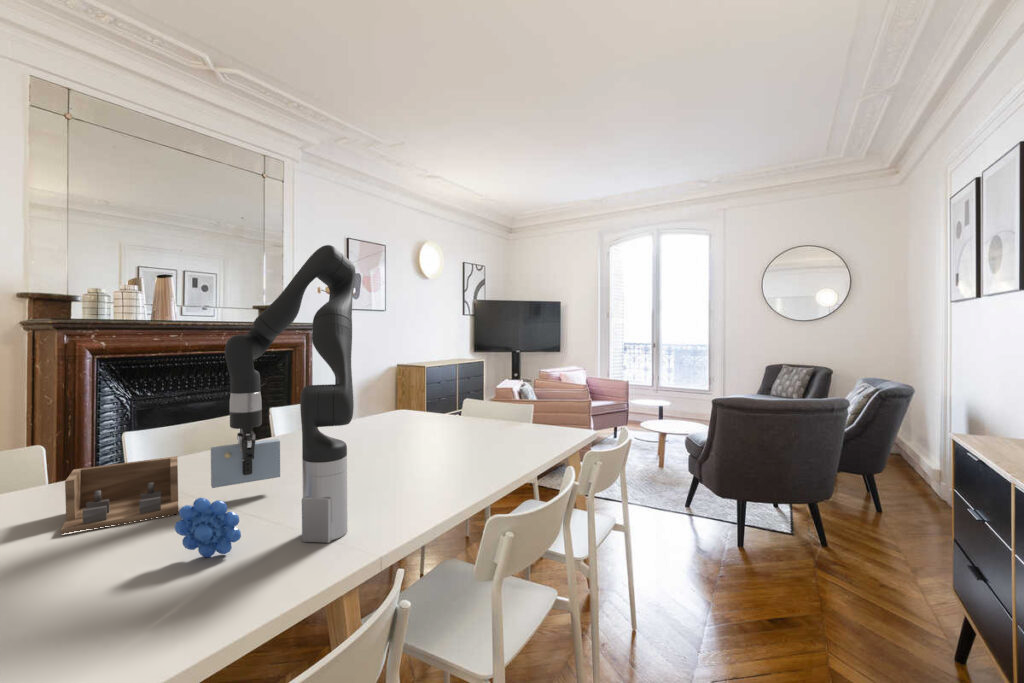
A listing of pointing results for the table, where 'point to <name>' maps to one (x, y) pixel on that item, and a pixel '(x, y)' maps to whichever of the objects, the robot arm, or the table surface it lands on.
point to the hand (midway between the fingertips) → (246, 472)
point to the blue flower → (208, 527)
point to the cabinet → (120, 493)
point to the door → (231, 467)
